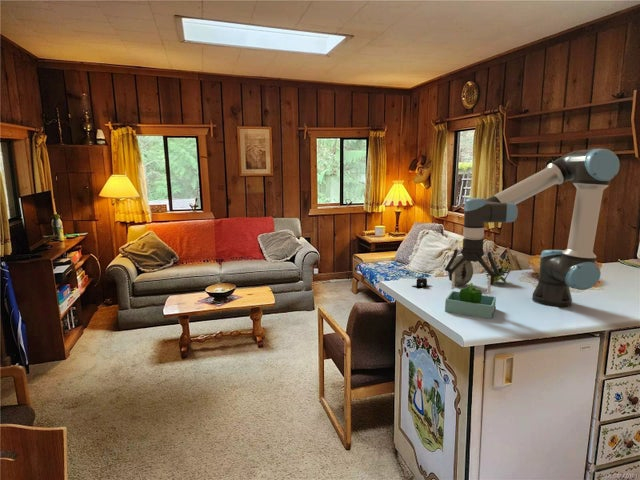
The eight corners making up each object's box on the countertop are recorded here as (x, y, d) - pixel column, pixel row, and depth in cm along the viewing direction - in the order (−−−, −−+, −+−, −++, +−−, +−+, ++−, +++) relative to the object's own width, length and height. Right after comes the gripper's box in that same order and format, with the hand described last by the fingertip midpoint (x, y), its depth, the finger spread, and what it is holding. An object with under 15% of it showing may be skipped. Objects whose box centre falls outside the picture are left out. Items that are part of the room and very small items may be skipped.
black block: (426, 284, 209) (426, 275, 208) (436, 287, 203) (436, 278, 202) (406, 287, 203) (407, 278, 202) (417, 291, 197) (417, 281, 196)
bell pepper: (476, 313, 159) (478, 288, 158) (455, 308, 164) (457, 284, 163) (484, 307, 166) (485, 283, 164) (463, 303, 171) (465, 280, 169)
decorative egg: (445, 281, 212) (446, 252, 209) (468, 282, 211) (470, 253, 208) (450, 287, 200) (452, 257, 198) (474, 288, 199) (477, 258, 197)
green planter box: (496, 309, 167) (497, 297, 166) (492, 319, 155) (493, 306, 155) (450, 302, 175) (451, 290, 174) (443, 311, 164) (444, 299, 163)
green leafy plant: (492, 291, 214) (501, 271, 217) (510, 293, 204) (518, 272, 207) (478, 281, 210) (487, 260, 213) (495, 282, 200) (504, 261, 203)
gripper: (509, 238, 158) (505, 291, 162) (442, 234, 170) (440, 284, 173) (507, 241, 152) (504, 297, 155) (438, 237, 163) (436, 289, 167)
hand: (470, 290), depth 164 cm, fingers open, 13 cm apart
